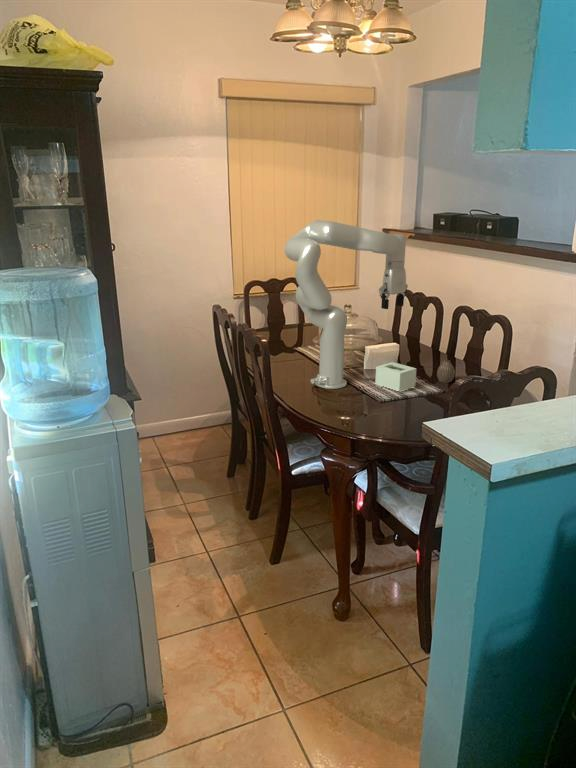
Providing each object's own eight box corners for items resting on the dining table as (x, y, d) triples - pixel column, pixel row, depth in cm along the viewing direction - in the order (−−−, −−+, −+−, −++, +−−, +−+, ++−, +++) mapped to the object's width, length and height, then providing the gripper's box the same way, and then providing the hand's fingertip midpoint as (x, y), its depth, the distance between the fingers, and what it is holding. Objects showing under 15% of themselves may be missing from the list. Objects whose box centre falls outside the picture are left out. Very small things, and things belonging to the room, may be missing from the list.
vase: (454, 384, 228) (456, 363, 225) (436, 383, 229) (438, 362, 226) (453, 379, 234) (455, 359, 232) (436, 378, 236) (437, 358, 233)
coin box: (399, 393, 218) (400, 373, 215) (375, 385, 226) (376, 366, 224) (415, 387, 224) (416, 368, 222) (391, 380, 233) (392, 362, 230)
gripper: (388, 267, 221) (385, 311, 226) (415, 264, 232) (412, 306, 237) (373, 266, 226) (371, 308, 232) (401, 263, 237) (398, 303, 242)
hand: (392, 307), depth 234 cm, fingers open, 9 cm apart
